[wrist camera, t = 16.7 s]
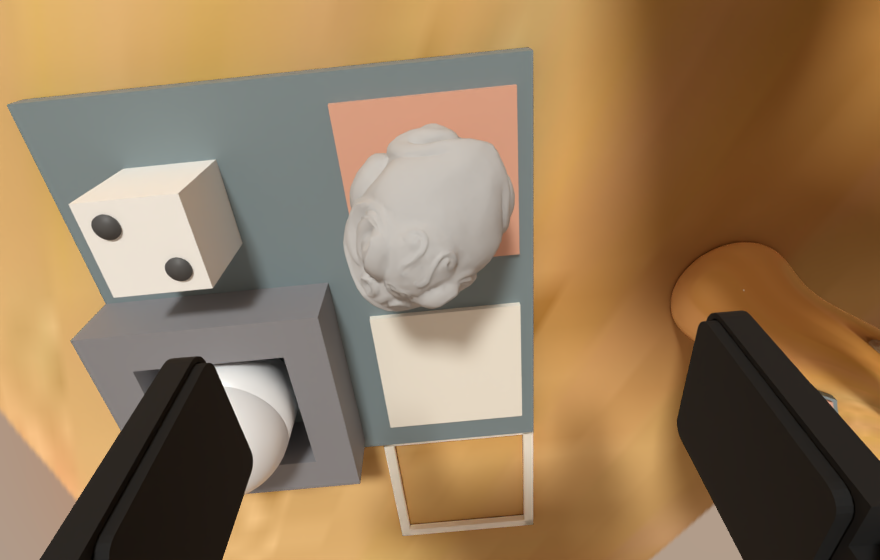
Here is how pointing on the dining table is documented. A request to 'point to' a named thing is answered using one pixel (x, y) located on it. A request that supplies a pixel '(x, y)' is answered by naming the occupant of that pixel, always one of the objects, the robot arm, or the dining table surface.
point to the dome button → (261, 410)
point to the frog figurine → (426, 218)
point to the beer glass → (790, 326)
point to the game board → (296, 253)
